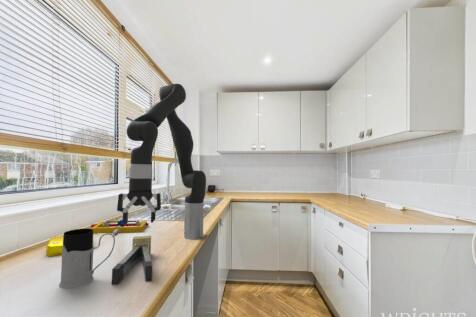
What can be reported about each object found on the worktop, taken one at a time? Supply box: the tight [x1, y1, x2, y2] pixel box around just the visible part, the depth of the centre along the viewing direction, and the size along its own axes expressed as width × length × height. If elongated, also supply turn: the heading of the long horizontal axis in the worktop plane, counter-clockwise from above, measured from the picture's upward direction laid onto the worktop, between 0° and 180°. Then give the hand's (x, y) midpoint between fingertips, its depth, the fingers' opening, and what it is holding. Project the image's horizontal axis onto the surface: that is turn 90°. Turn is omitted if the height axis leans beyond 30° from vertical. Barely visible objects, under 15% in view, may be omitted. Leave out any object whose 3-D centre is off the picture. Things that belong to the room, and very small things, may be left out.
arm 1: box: [111, 246, 141, 286], centre depth 80 cm, size 20×2×4 cm, turn 5°
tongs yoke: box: [135, 243, 149, 259], centre depth 92 cm, size 3×5×5 cm, turn 105°
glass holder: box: [58, 228, 116, 290], centre depth 73 cm, size 9×14×15 cm, turn 114°
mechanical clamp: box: [90, 218, 150, 235], centre depth 128 cm, size 18×6×30 cm
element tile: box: [45, 234, 64, 257], centre depth 101 cm, size 15×15×5 cm
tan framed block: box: [131, 235, 152, 256], centre depth 92 cm, size 3×6×7 cm, turn 105°
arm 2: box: [141, 246, 153, 282], centre depth 81 cm, size 20×2×4 cm, turn 25°
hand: (139, 222), depth 84 cm, fingers open, 8 cm apart
